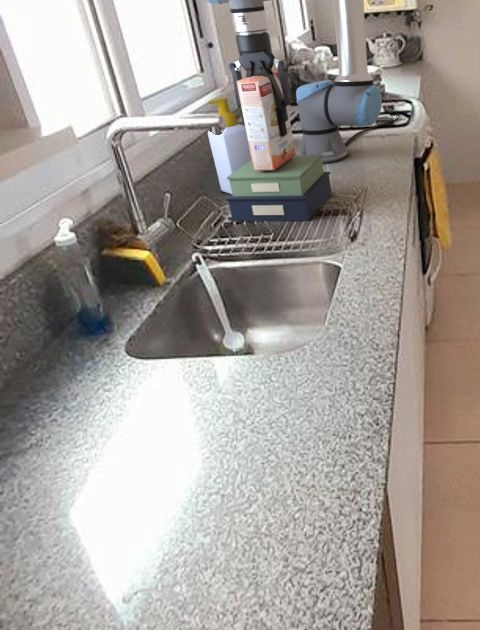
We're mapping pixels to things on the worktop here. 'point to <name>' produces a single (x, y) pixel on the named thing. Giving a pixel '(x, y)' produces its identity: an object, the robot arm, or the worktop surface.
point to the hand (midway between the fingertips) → (271, 135)
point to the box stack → (279, 190)
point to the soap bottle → (229, 145)
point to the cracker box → (264, 123)
